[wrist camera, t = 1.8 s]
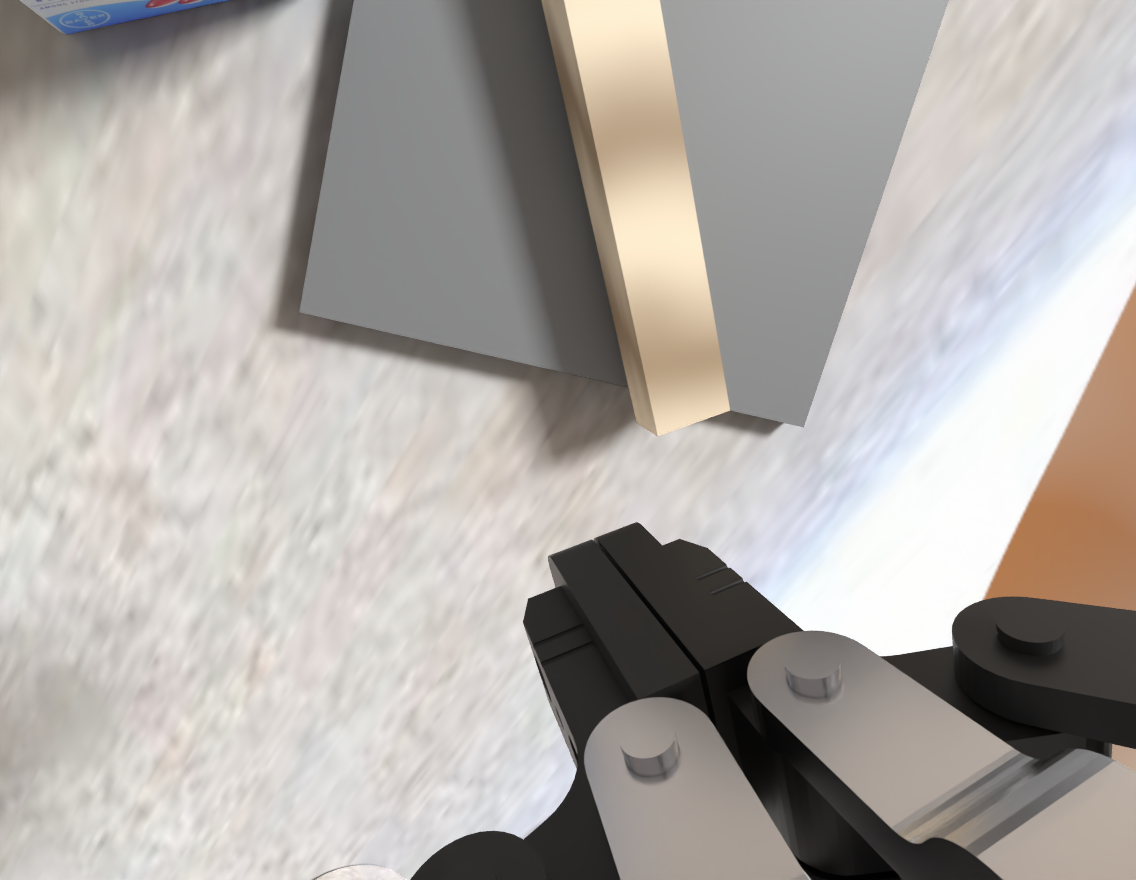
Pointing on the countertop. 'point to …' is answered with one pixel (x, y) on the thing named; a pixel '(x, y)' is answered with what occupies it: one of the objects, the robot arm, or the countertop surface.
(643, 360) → the latch bar
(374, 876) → the beer glass
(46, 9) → the medicine box
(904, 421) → the countertop surface
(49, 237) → the countertop surface
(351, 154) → the board
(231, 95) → the countertop surface
